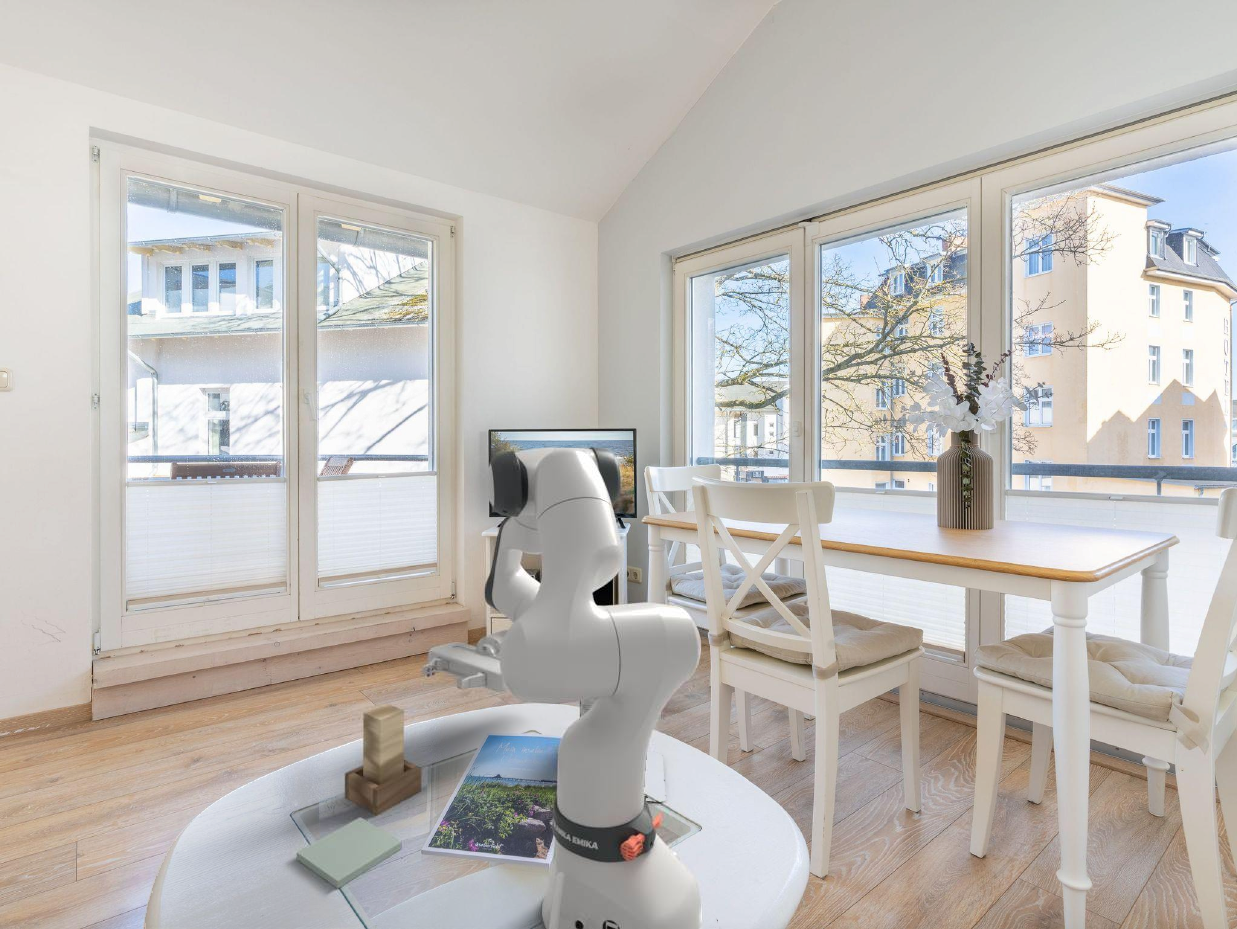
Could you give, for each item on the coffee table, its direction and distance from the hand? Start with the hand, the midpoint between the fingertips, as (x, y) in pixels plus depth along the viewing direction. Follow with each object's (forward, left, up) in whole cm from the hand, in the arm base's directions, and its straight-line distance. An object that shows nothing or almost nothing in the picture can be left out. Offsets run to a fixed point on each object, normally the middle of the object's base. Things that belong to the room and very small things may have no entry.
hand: (441, 678), depth 115 cm
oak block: (0, +12, -16) cm, 20 cm away
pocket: (0, +12, -16) cm, 20 cm away
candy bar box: (-20, -21, -16) cm, 33 cm away
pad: (-9, +24, -16) cm, 30 cm away
